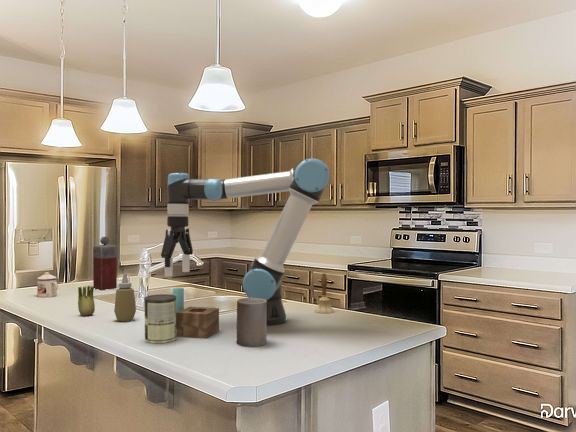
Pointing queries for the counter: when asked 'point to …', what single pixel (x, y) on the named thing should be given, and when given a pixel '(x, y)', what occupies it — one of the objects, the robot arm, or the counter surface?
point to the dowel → (179, 298)
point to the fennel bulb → (86, 301)
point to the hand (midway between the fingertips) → (177, 274)
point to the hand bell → (324, 299)
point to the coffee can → (160, 318)
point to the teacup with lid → (47, 285)
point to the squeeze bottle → (125, 301)
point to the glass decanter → (104, 265)
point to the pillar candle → (251, 321)
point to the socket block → (197, 322)
